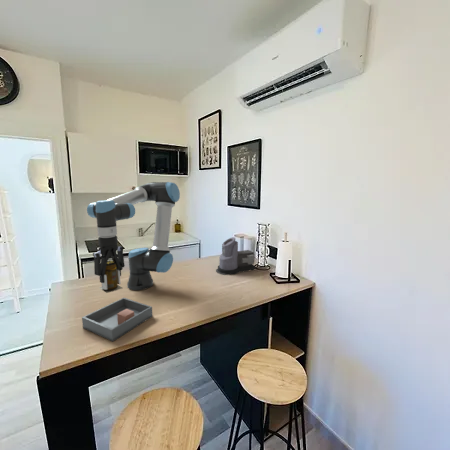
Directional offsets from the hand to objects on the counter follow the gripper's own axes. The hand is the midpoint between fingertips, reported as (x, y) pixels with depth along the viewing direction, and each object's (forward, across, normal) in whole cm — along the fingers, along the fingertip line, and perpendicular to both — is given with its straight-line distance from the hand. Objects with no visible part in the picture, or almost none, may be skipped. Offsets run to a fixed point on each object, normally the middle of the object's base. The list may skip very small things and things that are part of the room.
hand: (111, 286), depth 111 cm
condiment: (+1, 0, 0) cm, 1 cm away
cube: (+16, 0, -8) cm, 18 cm away
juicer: (+17, +89, -19) cm, 92 cm away
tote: (+17, 0, -4) cm, 17 cm away
